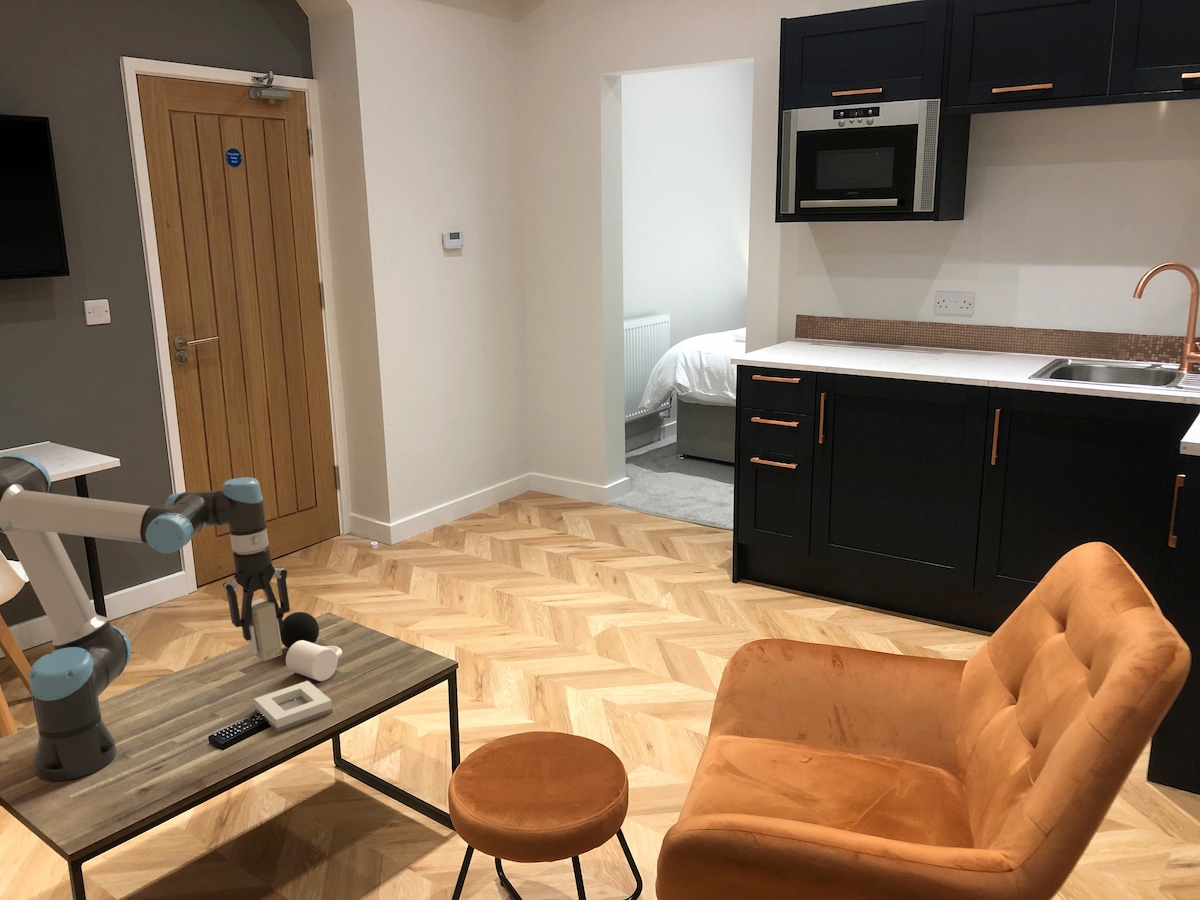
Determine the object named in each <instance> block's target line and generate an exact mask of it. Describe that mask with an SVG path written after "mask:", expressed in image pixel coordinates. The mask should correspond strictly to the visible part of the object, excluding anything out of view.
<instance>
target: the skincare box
mask: <svg viewBox="0 0 1200 900" xmlns="http://www.w3.org/2000/svg"><path fill="white" fill-rule="evenodd" d="M250 623H251V624H252V625H253V626H254V632H255V639H256V645H257V652H258V654H255V655H254V654H253V653H252V652H251V653H252V655H253V656H255V657H257V658H258V659H260V660H263V661H264V662H267V661H269V660H272V659H274V658H277V657H279V656H282V655H283V650H282V646H281V643H282V642H281V643H280V637H279V631H278V624H277V618H276V611H275V605H274V603H271V602H270V601H268V600H267V599H265V598H262V597H261V598H260V597H259V598H258V599H254V600H252V606H251V616H250Z"/></svg>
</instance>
